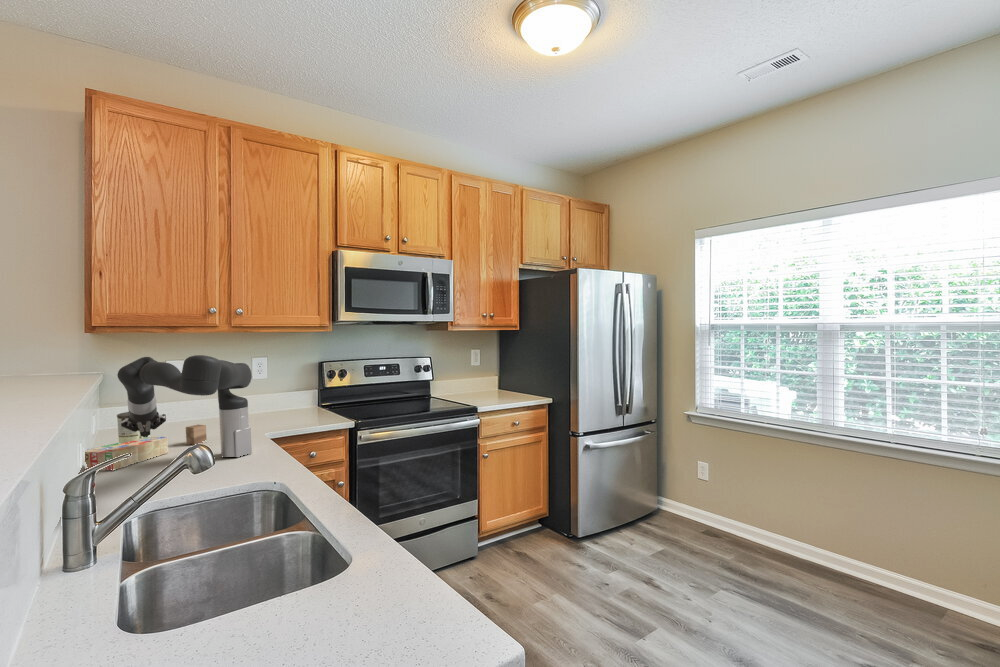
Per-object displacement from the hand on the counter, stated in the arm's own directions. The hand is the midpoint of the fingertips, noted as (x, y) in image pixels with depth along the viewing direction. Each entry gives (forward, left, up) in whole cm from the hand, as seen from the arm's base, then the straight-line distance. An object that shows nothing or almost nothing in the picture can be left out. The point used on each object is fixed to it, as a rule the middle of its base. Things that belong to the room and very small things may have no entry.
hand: (145, 435), depth 172 cm
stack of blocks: (+2, +1, -6) cm, 7 cm away
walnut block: (+9, -23, -10) cm, 27 cm away
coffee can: (+25, -9, -10) cm, 29 cm away
